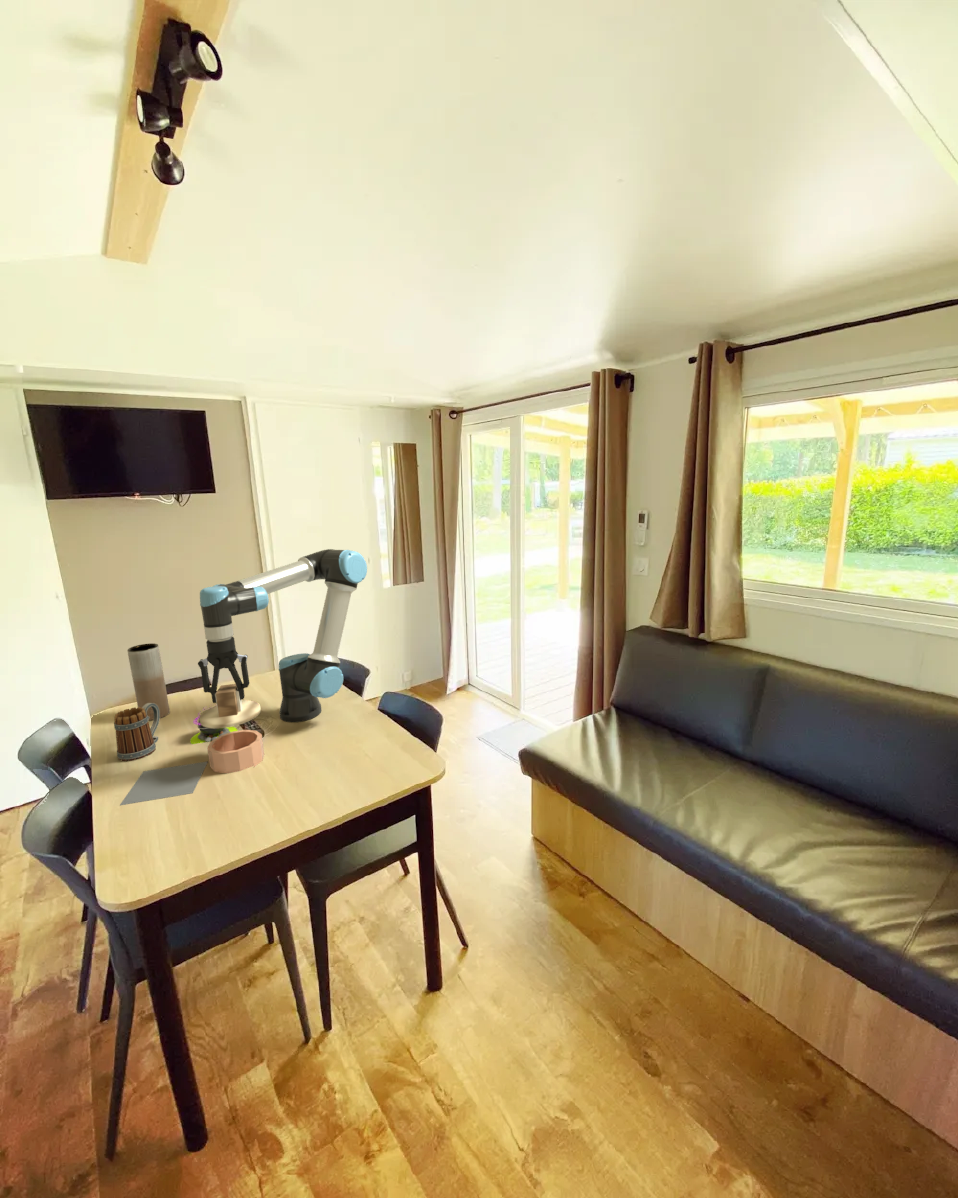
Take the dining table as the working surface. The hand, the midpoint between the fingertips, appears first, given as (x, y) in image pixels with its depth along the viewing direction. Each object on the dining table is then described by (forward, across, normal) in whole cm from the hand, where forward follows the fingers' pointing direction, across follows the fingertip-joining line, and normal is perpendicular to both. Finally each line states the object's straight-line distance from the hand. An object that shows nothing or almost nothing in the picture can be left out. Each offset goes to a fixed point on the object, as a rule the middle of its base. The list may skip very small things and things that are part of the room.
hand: (230, 710), depth 156 cm
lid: (+2, 0, 0) cm, 2 cm away
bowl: (+17, 0, 0) cm, 17 cm away
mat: (+17, +18, +7) cm, 26 cm away
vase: (+18, +38, -49) cm, 64 cm away
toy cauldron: (+18, +11, -22) cm, 30 cm away
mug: (+18, +32, -18) cm, 41 cm away
